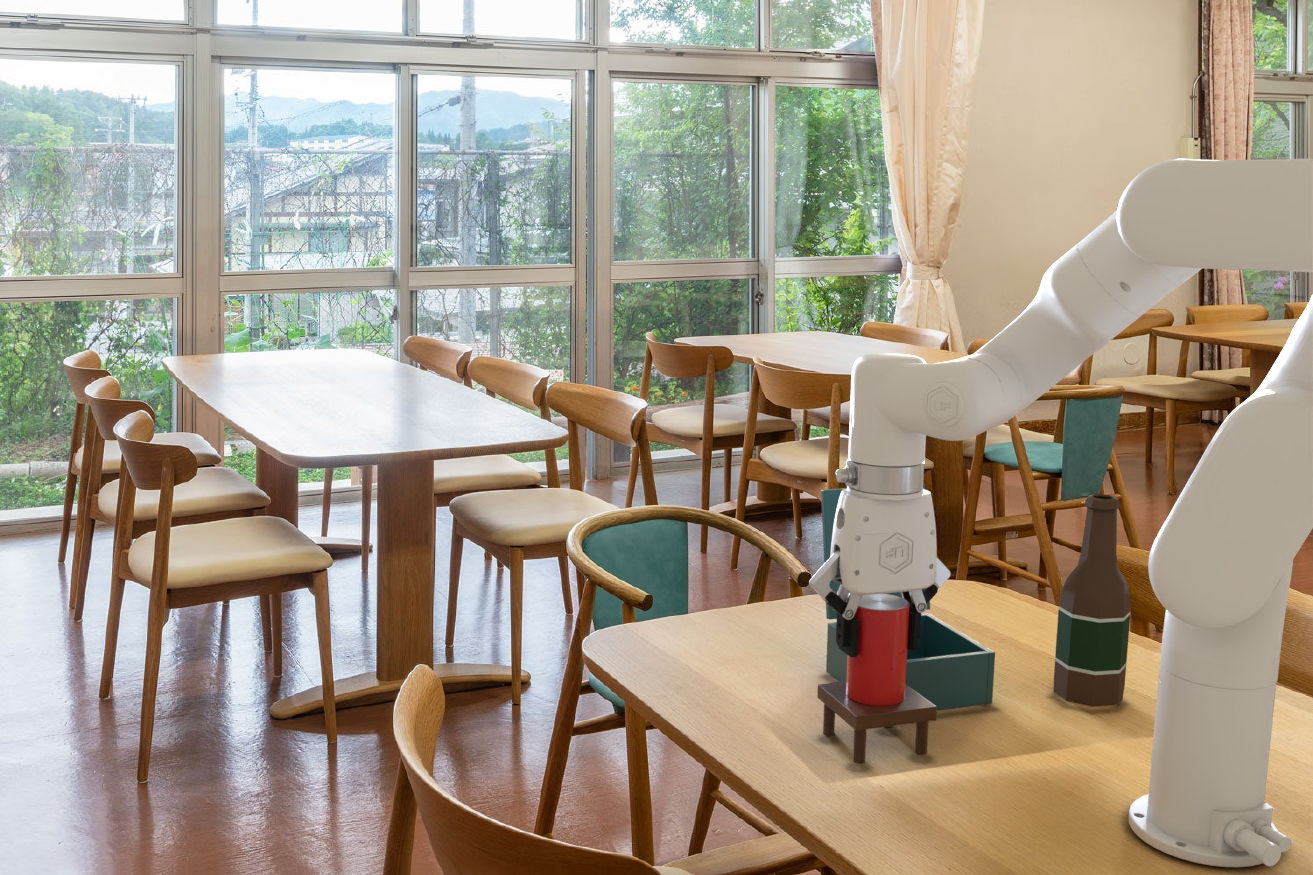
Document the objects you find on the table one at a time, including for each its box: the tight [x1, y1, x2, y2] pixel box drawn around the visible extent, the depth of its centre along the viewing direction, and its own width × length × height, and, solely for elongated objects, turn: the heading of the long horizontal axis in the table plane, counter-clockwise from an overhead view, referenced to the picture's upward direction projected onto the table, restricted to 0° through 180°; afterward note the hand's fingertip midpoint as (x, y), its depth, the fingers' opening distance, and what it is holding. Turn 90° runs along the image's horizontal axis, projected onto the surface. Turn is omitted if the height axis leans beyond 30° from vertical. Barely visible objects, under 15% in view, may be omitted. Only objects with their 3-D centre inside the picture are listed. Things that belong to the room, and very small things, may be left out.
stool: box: [816, 681, 938, 765], centre depth 131 cm, size 9×9×6 cm
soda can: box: [846, 594, 909, 706], centre depth 130 cm, size 6×6×10 cm
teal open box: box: [825, 612, 996, 712], centre depth 147 cm, size 15×14×7 cm
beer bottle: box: [1053, 493, 1132, 707], centre depth 144 cm, size 8×8×24 cm
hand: (877, 647), depth 130 cm, fingers closed on soda can, 6 cm apart
